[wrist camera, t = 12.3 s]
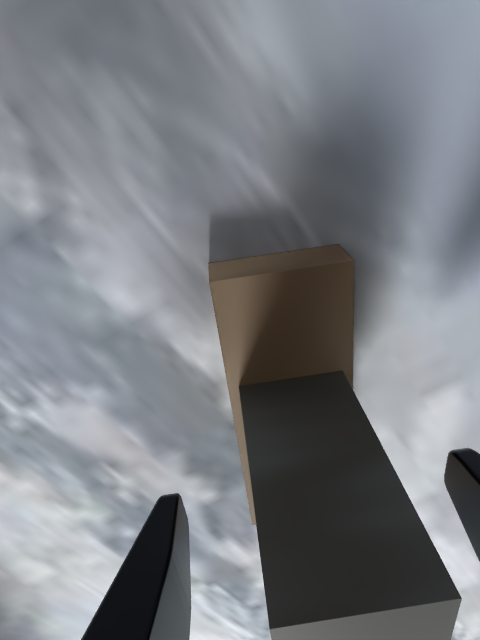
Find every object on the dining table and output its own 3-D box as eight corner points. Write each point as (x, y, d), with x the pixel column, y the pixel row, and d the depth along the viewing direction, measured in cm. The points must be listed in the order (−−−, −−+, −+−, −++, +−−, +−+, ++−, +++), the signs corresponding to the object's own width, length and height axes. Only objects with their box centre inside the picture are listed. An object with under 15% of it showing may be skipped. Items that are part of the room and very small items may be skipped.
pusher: (337, 242, 9) (528, 441, 4) (338, 476, 13) (434, 740, 8) (208, 261, 9) (217, 489, 4) (248, 490, 13) (281, 766, 8)
